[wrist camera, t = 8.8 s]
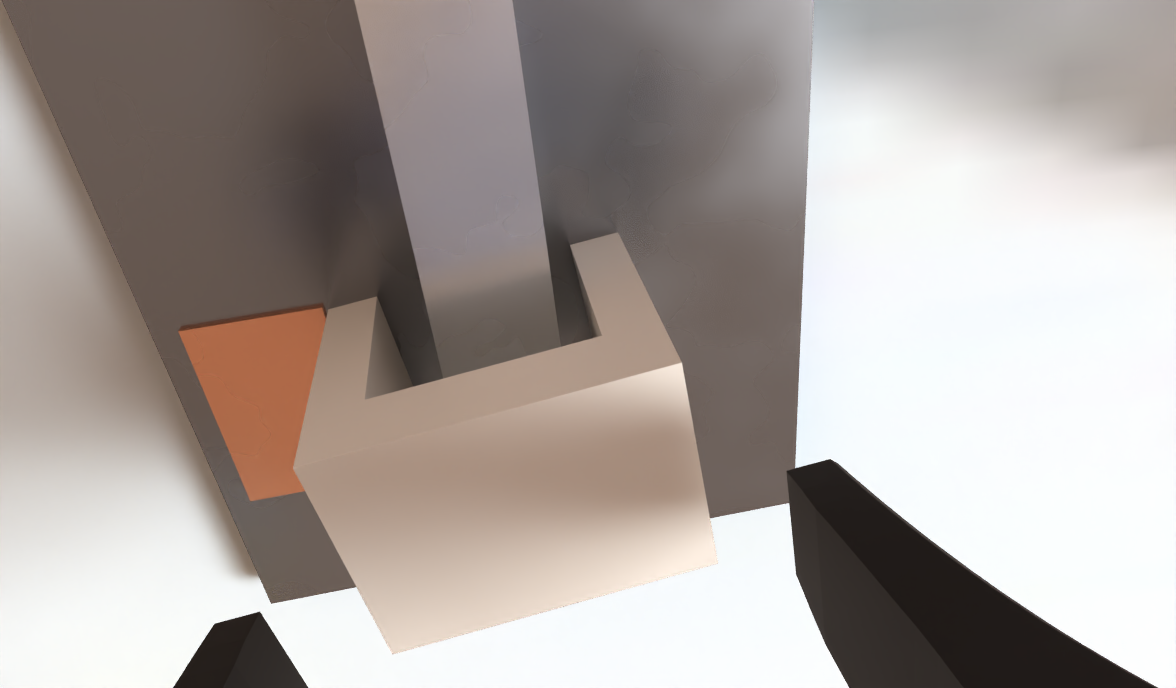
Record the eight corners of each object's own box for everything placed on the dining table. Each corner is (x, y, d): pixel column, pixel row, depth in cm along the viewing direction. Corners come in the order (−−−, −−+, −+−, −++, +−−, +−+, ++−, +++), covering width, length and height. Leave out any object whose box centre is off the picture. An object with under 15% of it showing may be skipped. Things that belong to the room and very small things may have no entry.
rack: (813, -600, 10) (926, -733, 8) (781, 479, 20) (828, 565, 18) (-196, -523, 9) (-409, -650, 7) (277, 576, 19) (254, 681, 16)
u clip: (617, 232, 15) (681, 362, 11) (654, 404, 17) (718, 563, 13) (328, 309, 15) (293, 468, 11) (401, 473, 17) (392, 654, 13)
